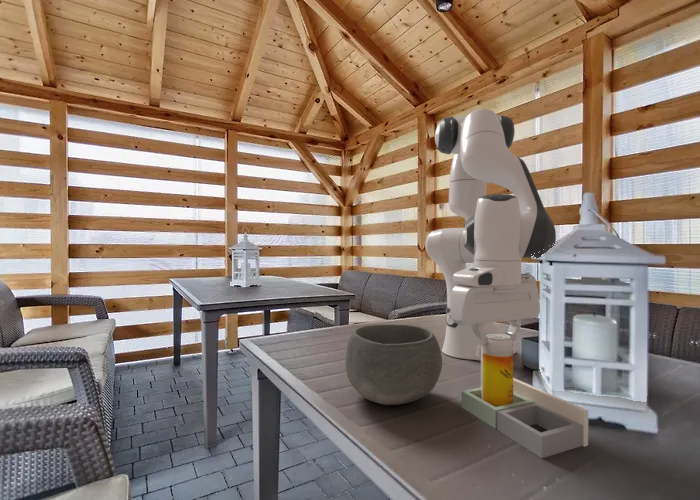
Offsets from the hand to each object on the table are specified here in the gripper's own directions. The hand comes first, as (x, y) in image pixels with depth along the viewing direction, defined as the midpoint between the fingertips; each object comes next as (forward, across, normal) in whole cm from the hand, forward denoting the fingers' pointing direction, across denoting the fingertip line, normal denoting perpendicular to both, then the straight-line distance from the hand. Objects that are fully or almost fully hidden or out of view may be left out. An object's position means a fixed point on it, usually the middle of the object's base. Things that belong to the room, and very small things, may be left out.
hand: (496, 343), depth 74 cm
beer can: (+14, 0, 0) cm, 14 cm away
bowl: (+15, +16, -14) cm, 26 cm away
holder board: (+14, 0, +5) cm, 15 cm away
